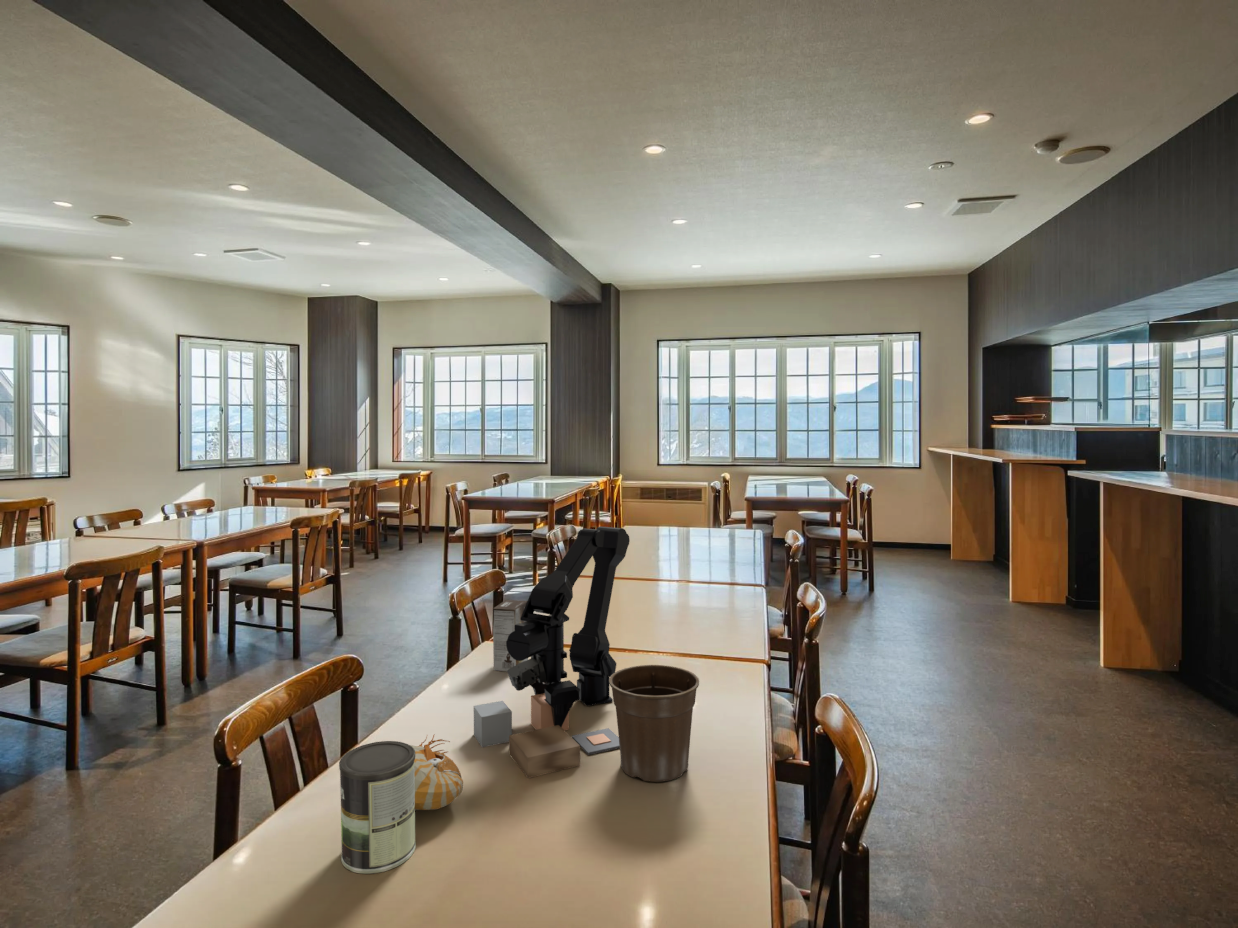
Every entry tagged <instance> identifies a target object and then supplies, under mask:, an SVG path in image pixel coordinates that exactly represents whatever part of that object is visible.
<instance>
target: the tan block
mask: <svg viewBox="0 0 1238 928" xmlns="http://www.w3.org/2000/svg"><path fill="white" fill-rule="evenodd" d="M508 744H509V746H508V747H509V749H508V752H509V756H510V758H512V760H513V761H514V762H515V764H516V765H517V766H518V767H519V769H520V770H521V771H522V772H523V774H524V776H526V778H527V779H530V778H535V777H537V776H543V775H546V774H550V773H556V772H558V771H562V770H567V769H571V768H575V767H579V766H581V747H580V745H579V744H578V743H577V742H576V741H575V740H574V739H573V738H572V736H571V735H569V734H568V733H567V732H566V730H563V729H562V728H561V727H560V726H559V725H556V726H552V727H547V728H542V729H537V730H536V729H534V730H533V729H532V730H529V731H524V732H519V733H513V734H512V735H509V743H508Z"/></svg>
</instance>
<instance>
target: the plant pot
mask: <svg viewBox="0 0 1238 928" xmlns="http://www.w3.org/2000/svg"><path fill="white" fill-rule="evenodd" d="M699 686H700V678H699V677H698V676H697V675H696V674H695V673H693V672H692V671H690V670H687V669H684V668H681V667H677V666H672V665H664V664H643V665H642V664H641V665H634V666H629V667H624V668H621V669H619V670H616V671H615V673H613V674H612V675H611V676H610V677H609V687H611V692H612V693H611V694H612V699H613V701H612V702H613V704H614V706H615V711H616V712H615V714H616V723H617V725H616V726H617V733H618V737H619V745H620V748H619V755H620V766H621V769H622V771H623V772H624V773H625V775H627V776H629V777H631V778H633V779H634V778H636V777H637V778H639V779H641V780H642V781H643V782H652V783H653V782H654V783H656V782H657V783H662V782H668V781H672V780H676V779H678V778H679V777H682V775H683V774H684V772H687V771H688V769H689V759H690V758H689V757H690V756H689V755H690V745H691V744H690V743H691V732H692V723H693V712H694V711H693V710H694V706H695V705H696V697H697V689H698V688H699Z"/></svg>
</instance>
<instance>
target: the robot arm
mask: <svg viewBox="0 0 1238 928" xmlns="http://www.w3.org/2000/svg"><path fill="white" fill-rule="evenodd" d="M630 543H631V542H630V536H629V533H627V531H626V529H624V528H621V527H611V526H609V527H608V526H598V527H597V528H596V529H594V528H593V529H592V528H582V529H580V530H579V531H578V532H577V535H576V539H575V540H574V542H573V543H572V545H571V546H570V548H569V549H568V550H567V552H566V554H565V555H564V556H563V558H562V559H561V561H560V562H559V564H558V565H557V567H556V568H555V570H554V571H553V572H552V573H550V574H549V575H546V576H544V577H542V578H541V579H540V580H539V581H538V582H537V583H536V584H535V585H534V587H533V588H532V590H531V592H530V594H529V596H528V599H527V600H526V601H527V604H526V606H525V608H524V611H523V613H522V616H521V621H526V622H524V623H519V624H516V625H515V631H513V632H511V633H510V634H509V636H508V639H507V641H506V647H507V650H508V653H509V654H510V656H511V657H512V658H513V659H515V660H517V661H522V660H524V659H527V658H528V660H527V661H523V662H521V663H519V664H518V665H516V666H514V667H512V668H510V669H509V670H508V671H506V672H507V676H508V678H509V680H510V683H511V686H512V687H514V689H515V690H516V691H518V692H519V691H523V690H525V689H526V688H528V687H531V688H532V690H533V693H534V695H538V694H544V693H545V697H546V699H544V700H545V701H546V702H547V703H548V704H549V705H550V706H551V709H552V716H553V723H554V726H556V725H559V726H560V727H562V725H563V723H564V721H565V719H566V716H567V714H568V712H569V713H570V710H571V709H572V707H573V705H574V703H576V702H577V701H580V702H581V703H582V704H583V705H585V706H586V707H590V706H595V705H601V704H605V703H611V702H613V697H611V696H610V684H609V678H610V676H611V675H612V674H613V673H615V672H616V671H617V662H616V661H615V659H614V658H613V657H612V656H611V654H610V646H611V645H610V644H611V643H610V641H609V638H608V636H607V633H606V628H607V627H606V626H607V621H608V615H609V612H610V611H609V609H610V603H611V598H612V592H613V589H614V587H613V586H614V581H615V576H616V571H617V567H618V566H619V564H620V563H622V561H624V559H625V558H626V555H627V550H628V547H629V545H630ZM592 558H593V561H594V569H593V571H592V578H591V583H590V591H589V594H588V595H589V596H588V600H587V604H586V605H587V607H586V611H585V616H584V620H583V621H584V622H583V626H582V627H581V629H580V630H579V631H578V632H575V633H574V632H573V634H572V637H571V644H570V647H569V651H568V652H569V655H568V652H567V651H566V650H564V649H565V647H564V642H565V641H564V640H565V639H564V637H565V636H564V633H565V631H564V628H565V627H564V623H565V622H568V621H570V616H568V615H567V614H566V612H567V610H568V608H569V607H570V604H571V602H572V600H573V598H574V594H573V593H574V592H573V587H574V585H575V583H576V582H577V581H578V579H579V577H580V575H581V574H582V573H583V571H584V570H585V568H586V566H587V565H588V563H589V562H590V560H591V559H592ZM568 656H569V660H570V664H571V667H572V668H571V669H572V672H573V673H578V679H576V684H575V683H573V682H572V681H571V680H569V679H568V672H567V671H565V669H564V668H565V667H564V665H565V663H564V662H565V660H564V659H568ZM562 679H568V680H564V681H562Z"/></svg>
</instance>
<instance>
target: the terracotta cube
mask: <svg viewBox="0 0 1238 928" xmlns="http://www.w3.org/2000/svg"><path fill="white" fill-rule="evenodd" d="M544 699H546V697H545V693H544V694H538V695H535V694H533V695H531V696H530V725H532V727H533V728H534V730H537V729H542V728H547V727H552V726H554V723H553V716H552V709H551V706H550V705H549V704H548V703H547V702H546V701H545V700H544ZM561 728H562V729H563V730H564V731H567V730H570V711H569V712H568V714H567V716H566V719H565V721H564V723H563V725H562V727H561Z"/></svg>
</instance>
